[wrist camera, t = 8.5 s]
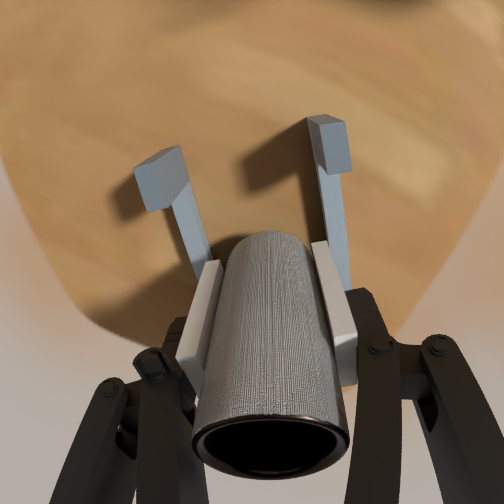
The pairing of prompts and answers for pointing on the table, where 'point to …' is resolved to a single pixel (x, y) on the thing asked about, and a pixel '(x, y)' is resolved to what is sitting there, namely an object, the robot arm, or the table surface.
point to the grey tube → (270, 368)
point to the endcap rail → (187, 214)
